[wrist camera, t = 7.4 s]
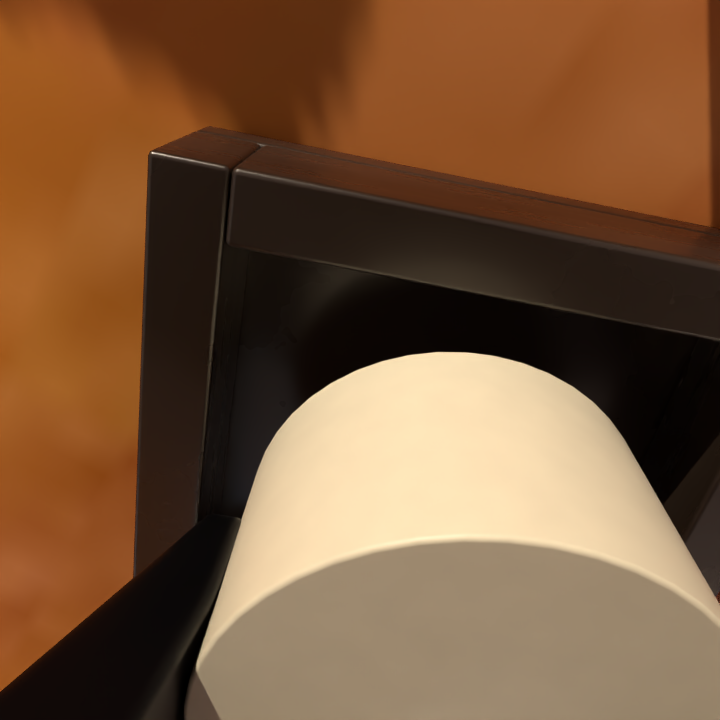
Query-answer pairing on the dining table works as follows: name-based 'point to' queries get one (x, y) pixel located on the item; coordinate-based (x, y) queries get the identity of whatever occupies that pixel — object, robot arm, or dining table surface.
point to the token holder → (405, 314)
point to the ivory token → (456, 562)
